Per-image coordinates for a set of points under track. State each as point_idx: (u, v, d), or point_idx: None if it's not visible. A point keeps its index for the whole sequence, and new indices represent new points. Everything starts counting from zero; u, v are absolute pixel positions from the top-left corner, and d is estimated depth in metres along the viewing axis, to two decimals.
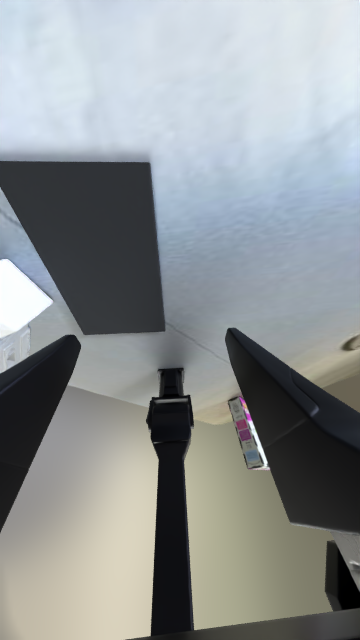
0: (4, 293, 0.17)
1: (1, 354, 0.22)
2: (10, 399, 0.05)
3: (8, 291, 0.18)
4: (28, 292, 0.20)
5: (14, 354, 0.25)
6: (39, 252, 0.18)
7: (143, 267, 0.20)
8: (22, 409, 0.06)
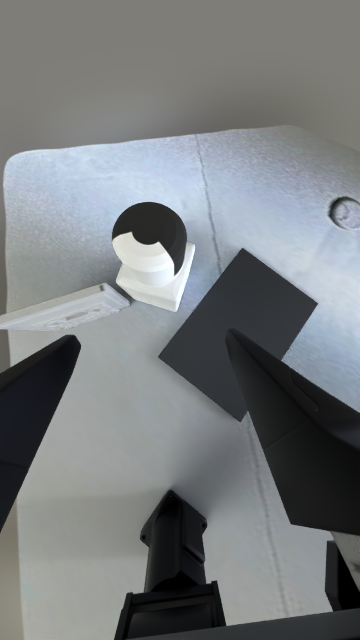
0: (186, 279, 0.19)
1: (95, 304, 0.17)
2: (10, 399, 0.05)
3: (185, 281, 0.19)
4: (182, 292, 0.21)
5: (83, 315, 0.18)
6: (216, 284, 0.23)
7: (273, 345, 0.22)
8: (22, 409, 0.06)
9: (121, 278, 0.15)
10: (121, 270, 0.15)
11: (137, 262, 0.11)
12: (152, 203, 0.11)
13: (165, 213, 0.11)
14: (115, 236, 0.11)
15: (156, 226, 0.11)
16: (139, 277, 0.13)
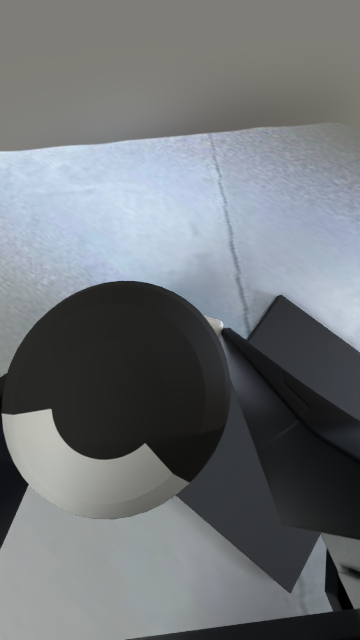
0: None
1: None
2: None
3: None
4: None
5: None
6: None
7: None
8: None
9: None
10: None
11: (72, 508, 0.03)
12: (130, 291, 0.04)
13: (168, 329, 0.04)
14: (5, 408, 0.03)
15: (139, 384, 0.03)
16: None
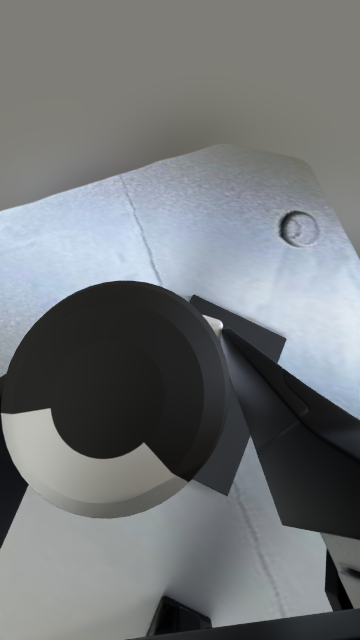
0: None
1: None
2: None
3: None
4: None
5: None
6: None
7: None
8: None
9: None
10: None
11: (71, 508, 0.03)
12: (129, 291, 0.04)
13: (167, 329, 0.04)
14: (5, 408, 0.03)
15: (138, 384, 0.03)
16: None
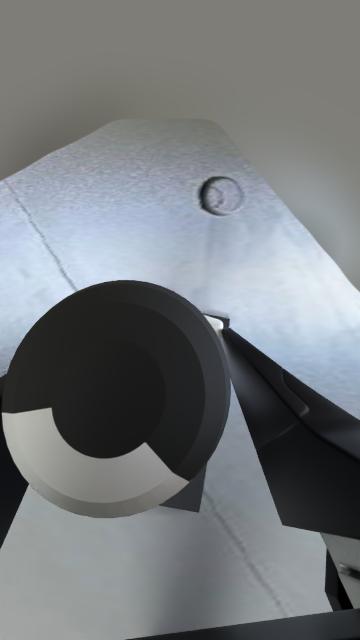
0: None
1: None
2: None
3: None
4: None
5: None
6: None
7: None
8: None
9: None
10: None
11: (72, 507, 0.03)
12: (130, 290, 0.04)
13: (168, 328, 0.04)
14: (5, 407, 0.03)
15: (139, 383, 0.03)
16: None
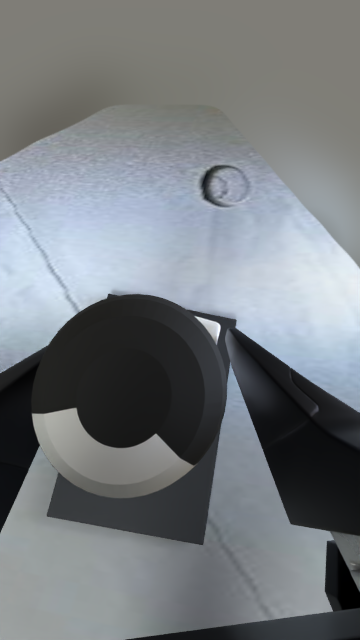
0: None
1: None
2: (10, 399, 0.05)
3: None
4: None
5: None
6: None
7: None
8: (22, 409, 0.06)
9: None
10: None
11: (96, 490, 0.04)
12: (137, 304, 0.04)
13: (172, 337, 0.04)
14: (35, 409, 0.04)
15: (149, 384, 0.04)
16: None
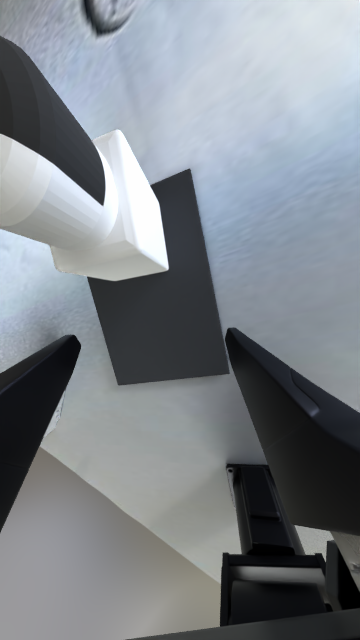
0: (148, 211, 0.11)
1: None
2: (10, 399, 0.05)
3: (151, 215, 0.12)
4: (160, 237, 0.14)
5: None
6: (90, 283, 0.18)
7: (189, 274, 0.16)
8: (22, 409, 0.06)
9: (57, 261, 0.10)
10: (52, 250, 0.10)
11: None
12: None
13: None
14: None
15: None
16: (51, 241, 0.08)
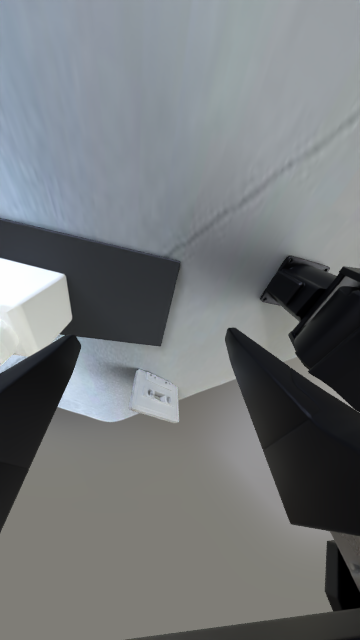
0: None
1: (145, 398, 0.27)
2: (10, 399, 0.05)
3: None
4: (25, 272, 0.15)
5: (157, 391, 0.30)
6: (73, 334, 0.23)
7: (71, 257, 0.16)
8: (22, 409, 0.06)
9: (29, 355, 0.15)
10: (21, 355, 0.15)
11: None
12: None
13: None
14: None
15: None
16: None
